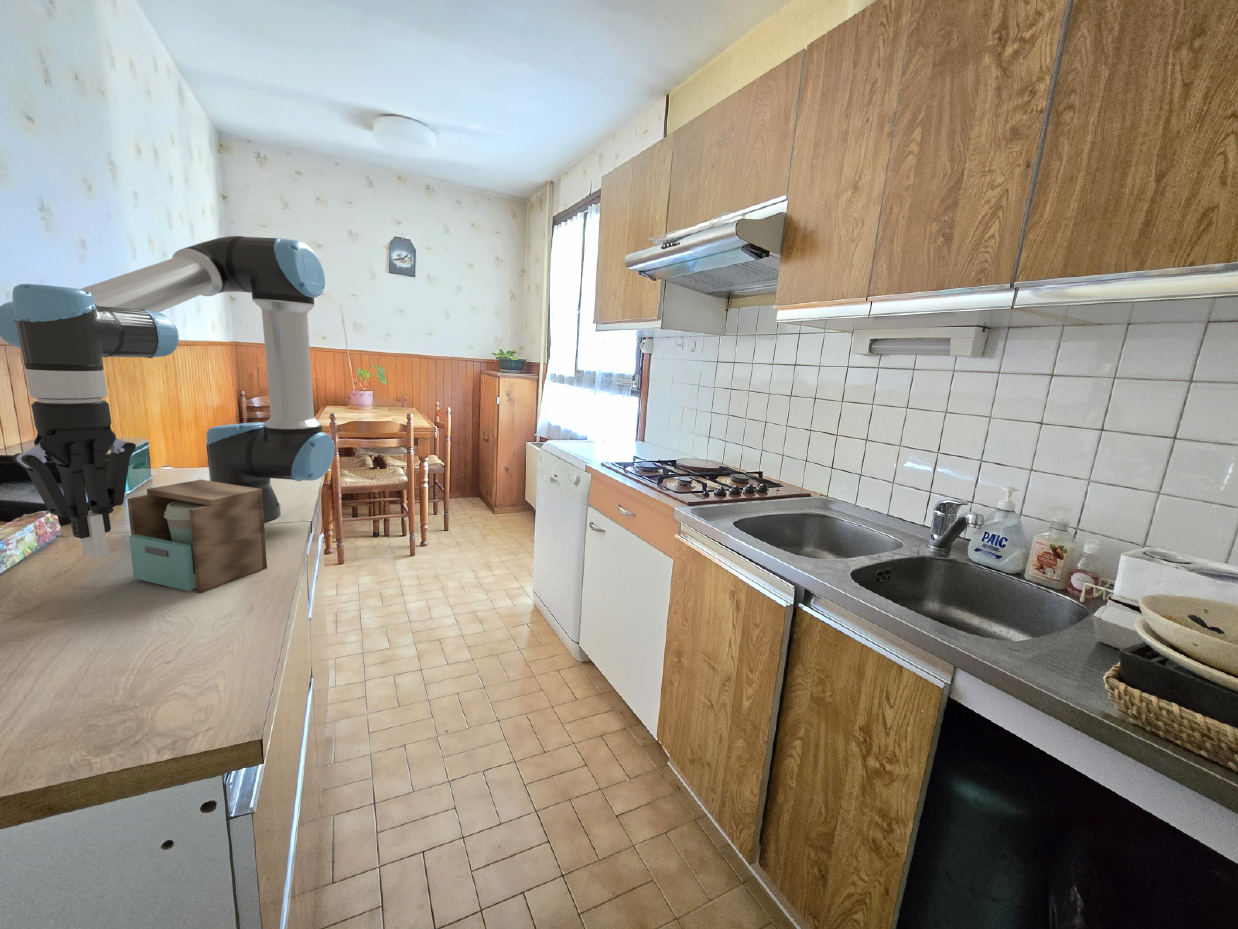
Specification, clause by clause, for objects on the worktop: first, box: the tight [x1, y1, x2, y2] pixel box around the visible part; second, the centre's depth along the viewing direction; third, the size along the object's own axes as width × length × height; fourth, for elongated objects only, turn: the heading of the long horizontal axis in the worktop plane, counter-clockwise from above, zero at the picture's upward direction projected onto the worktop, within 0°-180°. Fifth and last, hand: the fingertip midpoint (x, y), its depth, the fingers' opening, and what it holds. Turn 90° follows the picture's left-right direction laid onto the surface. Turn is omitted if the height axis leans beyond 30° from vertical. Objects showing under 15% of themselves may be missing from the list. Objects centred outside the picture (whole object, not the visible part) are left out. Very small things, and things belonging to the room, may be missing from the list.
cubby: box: [126, 479, 268, 594], centre depth 91 cm, size 12×15×16 cm
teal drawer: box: [128, 534, 197, 592], centre depth 90 cm, size 12×13×8 cm
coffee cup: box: [164, 500, 207, 573], centre depth 90 cm, size 9×8×12 cm
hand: (96, 555), depth 76 cm, fingers closed
